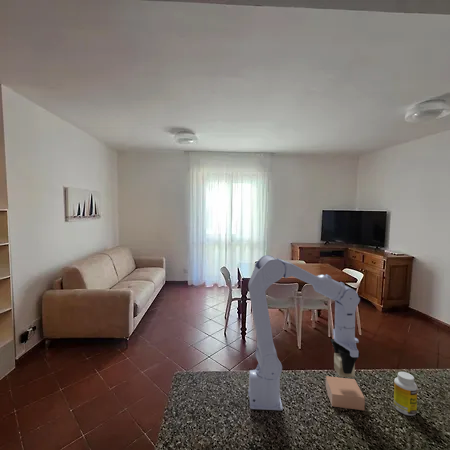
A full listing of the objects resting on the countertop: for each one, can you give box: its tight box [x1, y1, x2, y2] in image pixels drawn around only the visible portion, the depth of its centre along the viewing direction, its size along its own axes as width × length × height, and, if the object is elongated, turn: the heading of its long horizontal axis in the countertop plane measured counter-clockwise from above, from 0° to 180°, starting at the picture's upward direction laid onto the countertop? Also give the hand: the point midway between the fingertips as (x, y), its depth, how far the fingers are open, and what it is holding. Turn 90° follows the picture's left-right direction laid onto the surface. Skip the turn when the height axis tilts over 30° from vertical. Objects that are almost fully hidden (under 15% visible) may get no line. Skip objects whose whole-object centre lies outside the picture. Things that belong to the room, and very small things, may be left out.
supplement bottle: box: [393, 371, 418, 417], centre depth 75 cm, size 6×6×10 cm
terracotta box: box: [325, 375, 366, 411], centre depth 80 cm, size 9×9×4 cm
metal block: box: [333, 352, 356, 378], centre depth 80 cm, size 4×4×5 cm
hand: (344, 368), depth 80 cm, fingers closed on metal block, 4 cm apart
